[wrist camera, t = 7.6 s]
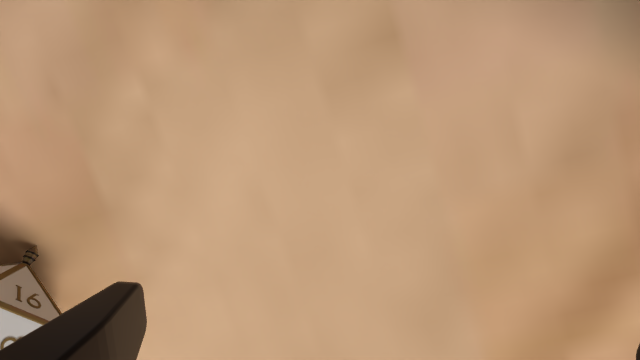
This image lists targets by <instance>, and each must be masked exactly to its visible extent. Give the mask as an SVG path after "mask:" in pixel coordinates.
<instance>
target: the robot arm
mask: <svg viewBox="0 0 640 360" xmlns="http://www.w3.org/2000/svg"><path fill="white" fill-rule="evenodd" d="M146 325H147V319H146V310H145V301H144V293H143V288H142V286H141V285H140V284H139V283H136V282H116V283H114V284H112V285H110V286H109V287H107V288H105V289H104V290H102V291H100V292H99V293H97V294H95V295H93V296H92V297H90V298H88V299H87V300H85V301H83V302H81V303H80V304H78V305H76V306H75V307H73V308H71V309H69V310H68V311H66V312H64V313H63V314H61V315H59V316H58V317H56V318H54V319H52V320H51V321H49V322H47V323H46V324H44V325H42V326H40V327H39V328H37V329H35V330H34V331H32V332H30V333H29V334H27V335H25V336H23V337H22V338H20V339H18V340H17V341H15V342H13V343H11V344H10V345H8V346H6V347H5V348H3V349H1V350H0V360H136V359H137V356H138V353H139V350H140V347H141V344H142V341H143V338H144V335H145V331H146ZM636 360H640V344H639V347H638V349H637V353H636Z"/></svg>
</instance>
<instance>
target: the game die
mask: <svg viewBox="0 0 640 360" xmlns="http://www.w3.org/2000/svg"><path fill="white" fill-rule="evenodd" d="M23 257H24V260H23V262H21V263H11V264H2V265H0V350H1V349H3V348H5V347H6V346H8V345H10V344H11V343H13V342H15V341H17V340H18V339H20V338H22V337H23V336H25V335H27V334H29V333H30V332H32V331H34V330H35V329H37V328H39V327H40V326H42V325H44V324H46V323H47V322H49V321H51V320H52V319H54V318H56V317H58V316H59V315H61V314H62V313H61V311H60V310H59V308H58V307H57V306H56V304H55V303H54V301H53V300H52V298H51V297H50V295H49V294H48V292H47V291H46V289H45V288H44V286H43V285H42V283H41V282H40V280H39V279H38V278H37V276H36V275H35V273H34V272H33V270H32V269H31V267H30V264H31V263H32V262H33V261H35V258H36V257H38V255H37V245H36V246H35V247H33V248H31V249H30V250H27V251H26V255H24V256H23Z"/></svg>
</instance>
